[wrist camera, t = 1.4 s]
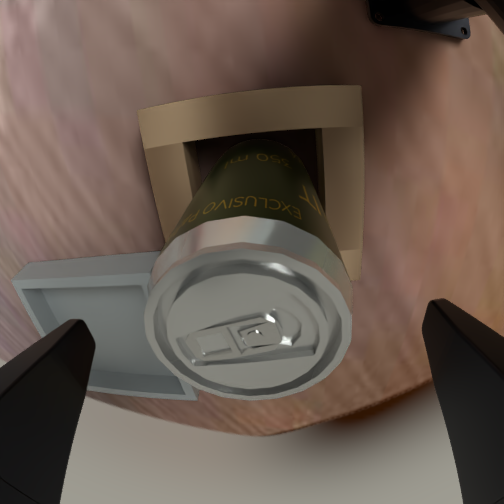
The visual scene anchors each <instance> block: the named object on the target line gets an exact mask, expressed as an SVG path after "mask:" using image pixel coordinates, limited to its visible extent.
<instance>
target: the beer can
mask: <svg viewBox="0 0 504 504" xmlns="http://www.w3.org/2000/svg"><path fill="white" fill-rule="evenodd" d="M147 290H148V301H147V304H146V307H145V310H144V323H145V331H146V338H147V339H148V341H149V343H150V345H151V347H152V349H153V351H154V353H155V355H156V356H157V358H158V359H159V360H160V361H161V362H162V363H163V364H164V365H165V366H166V367H167V368H168V369H169V370H170V371H171V372H172V373H173V374H174V375H175V376H177V377H178V378H180V379H182V380H183V381H185V382H187V383H189V384H190V385H192V386H194V387H195V388H197V389H200V390H203V391H206V392H209V393H212V394H215V395H218V396H221V397H226V398H233V399H241V400H264V399H277V398H280V397H284V396H288V395H291V394H294V393H298V392H301V391H303V390H305V389H307V388H309V387H311V386H312V385H314V384H316V383H318V382H320V381H321V380H323V379H325V378H326V377H327V376H328V375H329V374H330V373H331V372H332V371H333V370H334V369H335V368H336V367H337V366H338V365H339V363H340V362H341V361H342V359H343V357H344V355H345V353H346V351H347V348H348V346H349V344H350V342H351V328H352V316H351V315H352V313H353V287H352V284H351V281H350V278H349V276H348V273H347V270H346V267H345V265H344V262H343V259H342V257H341V254H340V251H339V249H338V246H337V243H336V241H335V238H334V236H333V233H332V230H331V228H330V225H329V223H328V220H327V218H326V215H325V213H324V210H323V208H322V206H321V203H320V201H319V198H318V196H317V193H316V191H315V189H314V186H313V184H312V182H311V179H310V177H309V175H308V172H307V170H306V168H305V166H304V164H303V162H302V161H301V159H300V158H299V157H298V156H297V155H296V154H295V153H294V152H293V151H292V150H291V149H290V148H288V147H286V146H284V145H282V144H280V143H278V142H276V141H272V140H266V139H253V140H247V141H242V142H240V143H238V144H236V145H235V146H233V147H231V148H229V149H228V150H227V151H226V152H225V153H224V154H223V155H222V156H221V157H220V158H219V159H218V160H217V162H216V163H215V165H214V166H213V168H212V169H211V171H210V173H209V174H208V176H207V177H206V179H205V180H204V182H203V183H202V185H201V186H200V188H199V190H198V191H197V193H196V194H195V196H194V197H193V199H192V201H191V202H190V204H189V205H188V207H187V209H186V210H185V212H184V214H183V215H182V217H181V218H180V220H179V222H178V223H177V225H176V227H175V228H174V230H173V232H172V233H171V235H170V237H169V238H168V240H167V242H166V244H165V245H164V247H163V249H162V250H161V252H160V254H159V256H158V257H157V259H156V261H155V264H154V267H153V270H152V273H151V276H150V279H149V282H148V285H147Z"/></svg>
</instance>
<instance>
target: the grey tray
mask: <svg viewBox="0 0 504 504" xmlns="http://www.w3.org/2000/svg"><path fill="white" fill-rule="evenodd" d="M160 252H161V251H153V252H142V253H130V254H119V255H107V256H96V257H85V258H74V259H63V260H53V261H42V262H32V263H28V264H27V265H26V266H25V267H24V268H23V269H22V270H21V271H20V272H19V273H18V274H17V275H16V276H15V277H14V278H13V279H12V280H11V281H12V283H13V285H14V287H15V290H16V292H17V294H18V296H19V297H20V299H21V301H22V303H23V305H24V307H25V309H26V311H27V313H28V314H29V316H30V318H31V320H32V322H33V323H34V325H35V327H36V329H37V330H38V332H39V334H40V335H41V337H42V338H43V337H44V336H46V335H47V334H49V333H50V332H51V331H53V330H54V329H56V328H57V327H59V326H60V325H62V324H63V323H65V322H66V321H67V320H69V319H82V320H84V321H85V323H86V324H87V326H88V328H89V330H90V332H91V334H92V336H93V338H94V340H95V343H96V349H95V354H94V358H93V362H92V367H91V372H90V377H89V381H88V387H87V390H90V391H96V392H103V393H111V394H119V395H127V396H137V397H148V398H160V399H176V400H198V395H199V390H200V389H197V388H195V387H194V386H192V385H190V384H189V383H187V382H185V381H183V380H182V379H180V378H178V377H177V376H175V375H174V374H173V373H172V372H171V371H170V370H169V369H168V368H167V367H166V366H165V365H164V364H163V363H162V362H161V361H160V360H159V359H158V358H157V356H156V355H155V353H154V351H153V349H152V347H151V345H150V343H149V341H148V339H147V338H146V331H145V323H144V310H145V307H146V304H147V301H148V290H147V285H148V282H149V279H150V276H151V273H152V270H153V267H154V264H155V261H156V259H157V257H158V256H159V254H160Z"/></svg>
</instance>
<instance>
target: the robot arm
mask: <svg viewBox="0 0 504 504" xmlns="http://www.w3.org/2000/svg"><path fill="white" fill-rule="evenodd" d="M366 5H367V11H368V17H369V20H370V21H371V23H372V24H374V25H376V26H383V27H393V28H402V29H409V30H416V31H423V32H429V33H434V34H440V35H445V36H450V37H454V38H459V39H468V38H469V37H470V26H469V19H468V18H470V17H475V16H480V15H485V14H487V15H488V16H489V17H490V18H491V20H492V21H493V22H494V23H495V24H496V26H497V27H498V28H499V29H500V31H501V32H502V33H503V34H504V0H366ZM375 14H379V15H380V16H381V18H382V19H381V21H379V20H377V19H376V17H375ZM461 28H462V29H463V31H464V34H462V32H461ZM422 334H423V338H424V342H425V347H426V351H427V355H428V359H429V364H430V369H431V373H432V378H433V382H434V386H435V390H436V393H437V396H438V399H439V402H440V406H441V409H442V413H443V416H444V420H445V424H446V427H447V431H448V435H449V439H450V443H451V446H452V451H453V455H454V459H455V463H456V468H457V473H458V478H459V482H460V487H461V493H462V499H463V504H504V337H503V336H501V335H500V334H498V333H497V332H495V331H494V330H492V329H491V328H489V327H488V326H486V325H485V324H483V323H482V322H480V321H479V320H477V319H476V318H474V317H473V316H471V315H470V314H468V313H467V312H465V311H464V310H462V309H461V308H459V307H457V306H456V305H454V304H453V303H451V302H450V301H448V300H446V299H444V298H441V299H434V300H431V301H430V302H429V303H428V306H427V309H426V313H425V317H424V321H423V324H422ZM95 349H96V343H95V340H94V338H93V336H92V334H91V332H90V330H89V328H88V326H87V324H86V323H85V321H84V320H82V319H69V320H67V321H66V322H65V323H63V324H62V325H60V326H59V327H57V328H56V329H54V330H53V331H51V332H50V333H49V334H47V335H46V336H44V337H43V338H41V339H40V340H38V341H37V342H36V343H34V344H33V345H31V346H30V347H29V348H27V349H26V350H24V351H23V352H22V353H20V354H19V355H17V356H16V357H15V358H13V359H12V360H10V361H9V362H8V363H6V364H5V365H3V366H2V367H1V368H0V504H60V500H61V494H62V488H63V484H64V478H65V474H66V469H67V465H68V460H69V455H70V452H71V447H72V443H73V439H74V435H75V431H76V428H77V424H78V420H79V416H80V413H81V410H82V406H83V403H84V399H85V395H86V391H87V387H88V381H89V377H90V372H91V367H92V362H93V358H94V354H95Z"/></svg>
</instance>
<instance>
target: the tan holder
mask: <svg viewBox="0 0 504 504" xmlns="http://www.w3.org/2000/svg"><path fill="white" fill-rule="evenodd" d="M137 115H138V120H139V126H140V131H141V137H142V142H143V147H144V152H145V157H146V162H147V166H148V171H149V176H150V180H151V185H152V189H153V194H154V198H155V202H156V206H157V211H158V215H159V219H160V223H161V227H162V231H163V235H164V239H165V243H166V242H167V240H168V238H169V237H170V235H171V233H172V232H173V230H174V228H175V227H176V225H177V223H178V222H179V220H180V218H181V217H182V215H183V214H184V212H185V210H186V209H187V207H188V205H189V204H190V202H191V201H192V199H193V197H194V196H195V194H196V193H197V191H198V190H199V188H200V186H201V185H202V180H201V174H200V168H199V162H198V156H197V150H196V144H195V140H200V139H207V138H214V137H222V136H230V135H238V134H247V133H257V132H267V131H279V130H292V129H308V128H315V137H316V152H317V170H318V191H319V201H320V203H321V206H322V208H323V210H324V213H325V215H326V218H327V220H328V223H329V225H330V228H331V230H332V233H333V236H334V238H335V241H336V243H337V246H338V249H339V251H340V254H341V257H342V259H343V262H344V265H345V267H346V270H347V273H348V276H349V278H350V281H352V280H360V275H361V261H362V245H363V224H364V127H363V106H362V91H361V85H322V86H298V87H283V88H270V89H260V90H250V91H241V92H233V93H226V94H219V95H212V96H206V97H200V98H194V99H188V100H183V101H178V102H173V103H168V104H163V105H158V106H154V107H149V108H145V109H141V110H137Z"/></svg>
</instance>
